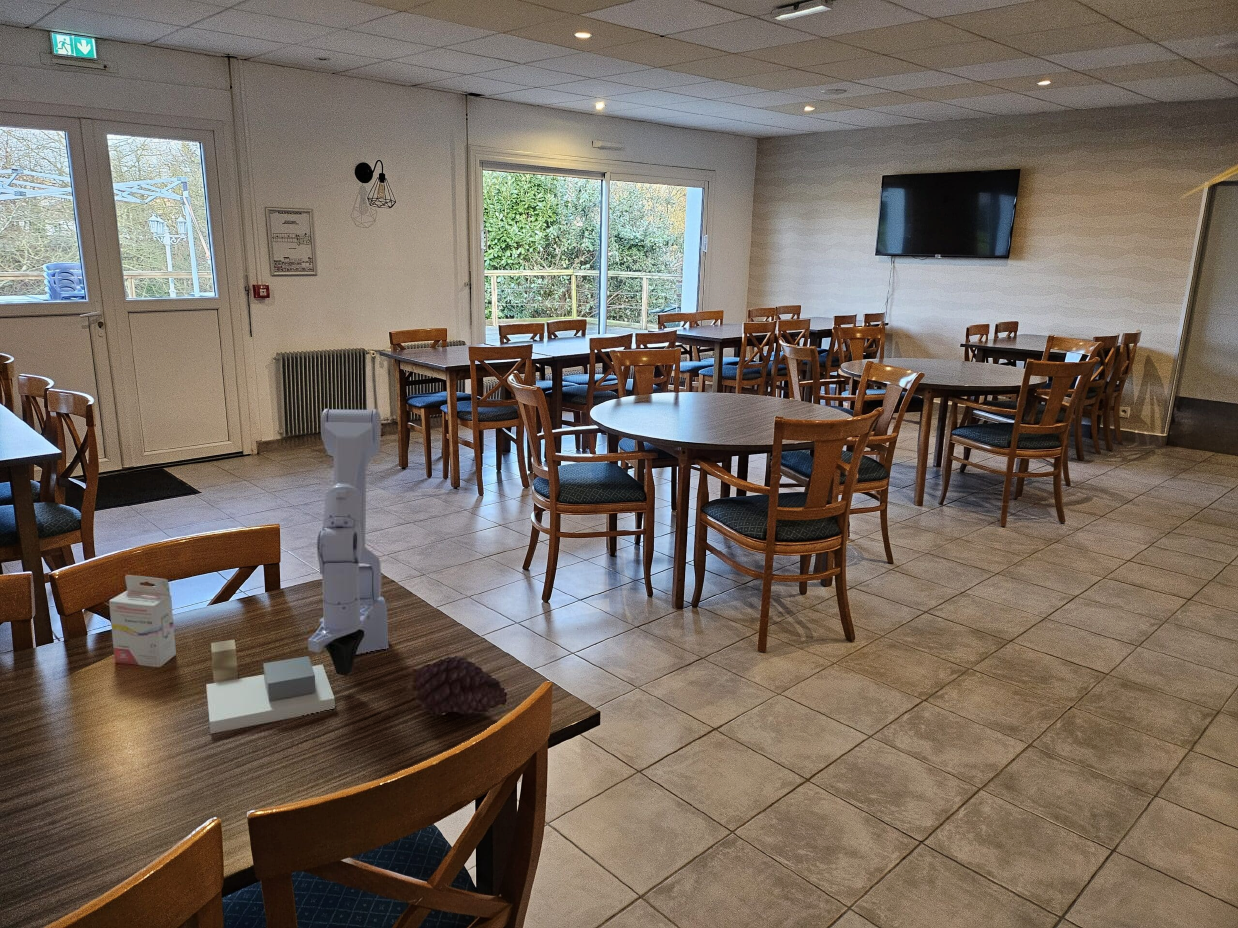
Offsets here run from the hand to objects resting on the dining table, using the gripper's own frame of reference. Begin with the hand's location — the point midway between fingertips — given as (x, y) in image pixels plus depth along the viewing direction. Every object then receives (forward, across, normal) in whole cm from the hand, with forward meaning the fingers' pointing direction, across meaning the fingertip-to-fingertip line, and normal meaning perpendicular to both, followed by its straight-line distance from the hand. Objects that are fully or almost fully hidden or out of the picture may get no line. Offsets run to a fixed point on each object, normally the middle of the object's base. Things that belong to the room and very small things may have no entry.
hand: (343, 672), depth 140 cm
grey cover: (+1, +6, -6) cm, 9 cm away
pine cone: (+3, 0, +21) cm, 21 cm away
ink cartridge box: (+3, +6, -37) cm, 38 cm away
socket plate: (+3, +8, -8) cm, 12 cm away
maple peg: (+3, +5, -20) cm, 21 cm away
